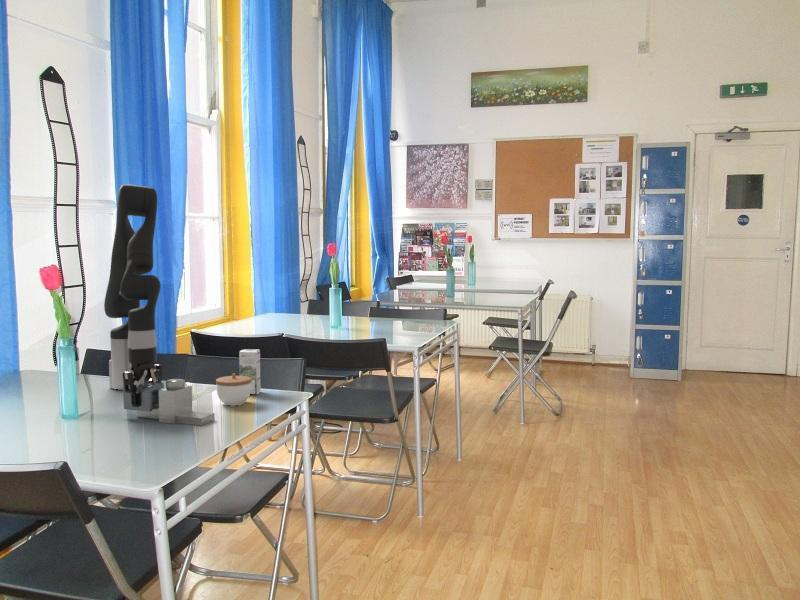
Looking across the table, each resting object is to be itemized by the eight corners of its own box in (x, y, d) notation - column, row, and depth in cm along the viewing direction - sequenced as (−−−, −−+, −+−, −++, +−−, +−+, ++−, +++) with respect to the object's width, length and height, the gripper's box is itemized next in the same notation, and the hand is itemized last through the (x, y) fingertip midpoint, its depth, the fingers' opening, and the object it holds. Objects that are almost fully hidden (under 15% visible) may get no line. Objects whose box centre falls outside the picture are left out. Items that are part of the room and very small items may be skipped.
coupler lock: (121, 408, 191) (120, 384, 191) (136, 404, 197) (135, 380, 196) (150, 411, 188) (149, 386, 188) (164, 406, 194) (163, 382, 193)
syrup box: (261, 391, 225) (260, 348, 224) (256, 395, 219) (256, 351, 218) (244, 391, 225) (243, 348, 224) (239, 395, 219) (238, 351, 218)
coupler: (129, 419, 189) (128, 380, 188) (149, 412, 197) (148, 375, 196) (199, 426, 182) (198, 386, 181) (216, 419, 189) (215, 380, 188)
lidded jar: (211, 407, 203) (211, 376, 202) (222, 399, 214) (221, 370, 213) (247, 408, 203) (246, 377, 202) (255, 399, 213) (255, 370, 213)
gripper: (148, 341, 199) (150, 397, 200) (113, 348, 185) (115, 408, 187) (169, 342, 197) (171, 399, 198) (135, 349, 183) (137, 411, 184)
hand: (144, 403), depth 192 cm, fingers closed on coupler lock, 6 cm apart
